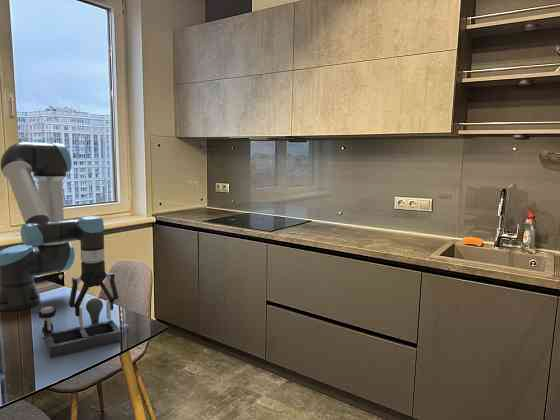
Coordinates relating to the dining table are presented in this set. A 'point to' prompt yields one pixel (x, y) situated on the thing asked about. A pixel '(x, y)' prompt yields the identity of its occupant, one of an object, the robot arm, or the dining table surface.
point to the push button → (47, 319)
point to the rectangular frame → (82, 338)
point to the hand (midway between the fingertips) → (95, 321)
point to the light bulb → (94, 309)
